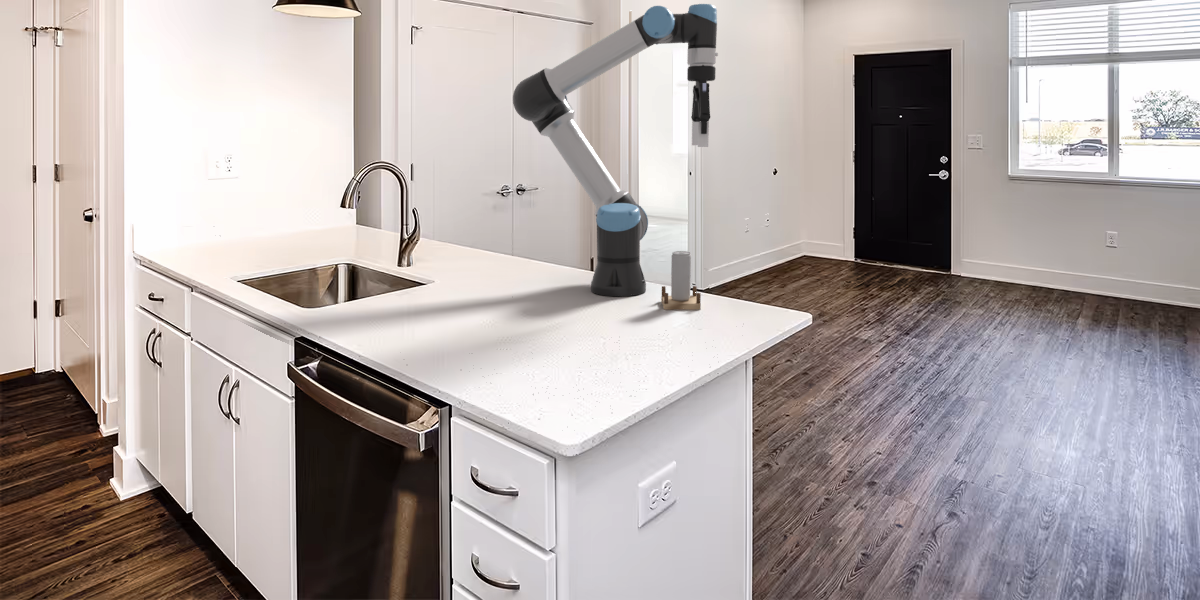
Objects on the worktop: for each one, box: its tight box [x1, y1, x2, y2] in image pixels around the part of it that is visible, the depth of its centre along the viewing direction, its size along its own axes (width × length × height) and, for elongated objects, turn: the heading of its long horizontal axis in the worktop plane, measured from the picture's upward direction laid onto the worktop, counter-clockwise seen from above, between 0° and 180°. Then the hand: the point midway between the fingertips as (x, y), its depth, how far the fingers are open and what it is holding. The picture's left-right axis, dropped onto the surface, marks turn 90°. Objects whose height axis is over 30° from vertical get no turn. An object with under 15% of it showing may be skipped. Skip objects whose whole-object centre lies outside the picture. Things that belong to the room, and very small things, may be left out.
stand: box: [660, 285, 702, 311], centre depth 193 cm, size 9×9×4 cm
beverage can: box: [670, 250, 692, 301], centre depth 192 cm, size 5×5×12 cm
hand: (699, 146), depth 211 cm, fingers open, 13 cm apart
